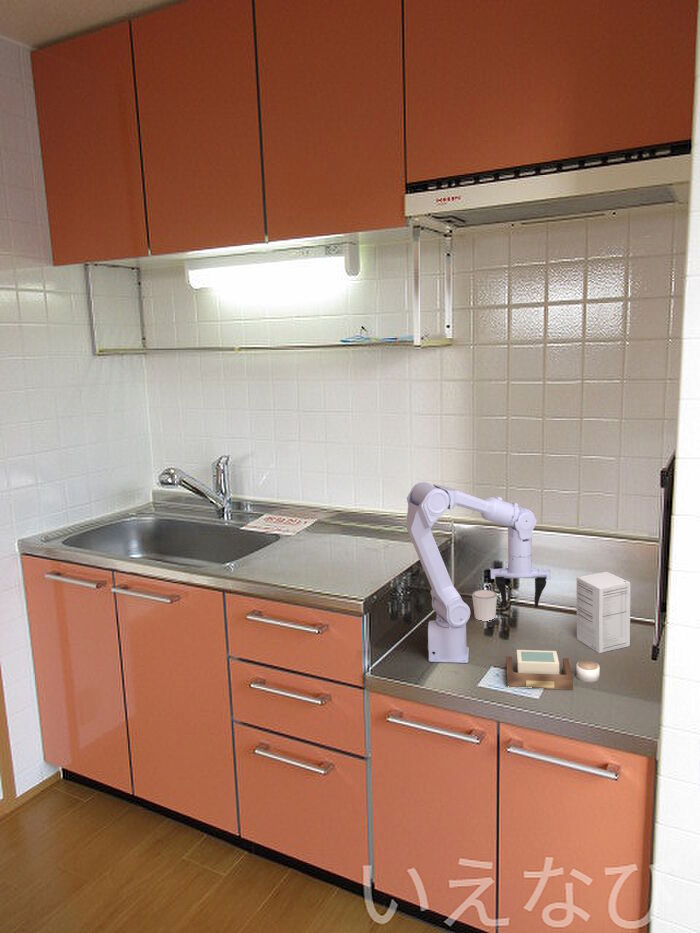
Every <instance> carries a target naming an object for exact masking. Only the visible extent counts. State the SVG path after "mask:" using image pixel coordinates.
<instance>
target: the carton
mask: <svg viewBox="0 0 700 933" xmlns="http://www.w3.org/2000/svg"><path fill="white" fill-rule="evenodd" d="M516 669H517V671H516V673H532V674H558V675H560V661H559V656H558V653H557V650H534V649H533V650H532V649H516Z"/></svg>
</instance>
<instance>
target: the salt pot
mask: <svg viewBox="0 0 700 933" xmlns="http://www.w3.org/2000/svg"><path fill="white" fill-rule="evenodd" d="M600 670H601V669H600V664H598V662H596V661H594V660H589V659H588V660H587V659H583V660H580V661H577V662H576V672H575V673H576V678H577V679H578V680H579V681H582V682H585V683H595V682H597V681H599V680H600V676H601V674H600V673H601V672H600Z"/></svg>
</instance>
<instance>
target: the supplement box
mask: <svg viewBox="0 0 700 933" xmlns="http://www.w3.org/2000/svg"><path fill="white" fill-rule="evenodd" d="M576 640H578V641H579V642H580V643H582V644H584V645H586V647H587V648H588V647H589V648H590V649H591V650H594V651H595V652H597V653H598V654H601V653H602V654H603V653H606V652H611V651H615V650H618V649H619V650H620V649H623V648H628V647H630V646H631V582H630V581H629V580H626V579H624V578H621V576H617V575H616V574H613V573H611V572H609V571H602V572H597V573H592V574H588V575H587V574H586V575H583V576H578V577H576Z"/></svg>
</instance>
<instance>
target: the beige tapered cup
mask: <svg viewBox="0 0 700 933" xmlns="http://www.w3.org/2000/svg"><path fill="white" fill-rule="evenodd" d="M471 596H472V604H473V612H474V614H473V615H474V619H475V618H476V619H478V620H482V621H488V622H490V621H489V620H492V619H494V618H495V619H496V615H497V614H496V613H497V600H498V593H497V592H496V591H494V590H491V589H490V590H489V589H480V590H475V591H473V592H472V595H471ZM476 619H475V620H476ZM495 619H494V620H495ZM478 620H477V621H478ZM482 621H481V622H482Z"/></svg>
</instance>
